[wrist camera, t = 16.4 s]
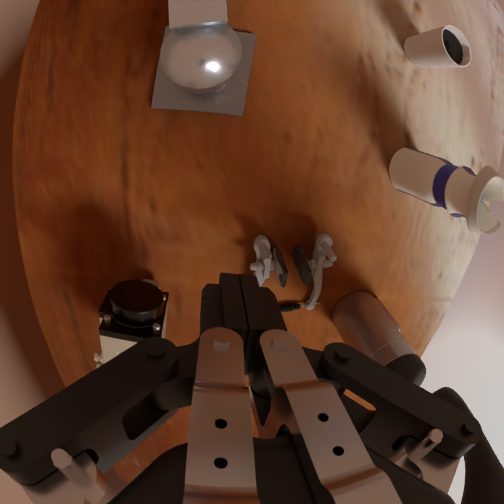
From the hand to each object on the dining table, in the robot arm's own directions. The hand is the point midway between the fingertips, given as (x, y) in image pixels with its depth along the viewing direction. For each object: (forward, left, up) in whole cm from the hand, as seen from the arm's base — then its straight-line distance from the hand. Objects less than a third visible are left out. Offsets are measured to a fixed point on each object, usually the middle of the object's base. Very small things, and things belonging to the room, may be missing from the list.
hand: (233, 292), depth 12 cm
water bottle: (-30, -6, -29) cm, 42 cm away
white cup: (-28, -27, -29) cm, 49 cm away
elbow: (+5, -19, -24) cm, 31 cm away
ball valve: (+10, +22, -29) cm, 38 cm away
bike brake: (-13, +17, -30) cm, 36 cm away
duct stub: (+4, -14, -29) cm, 32 cm away
